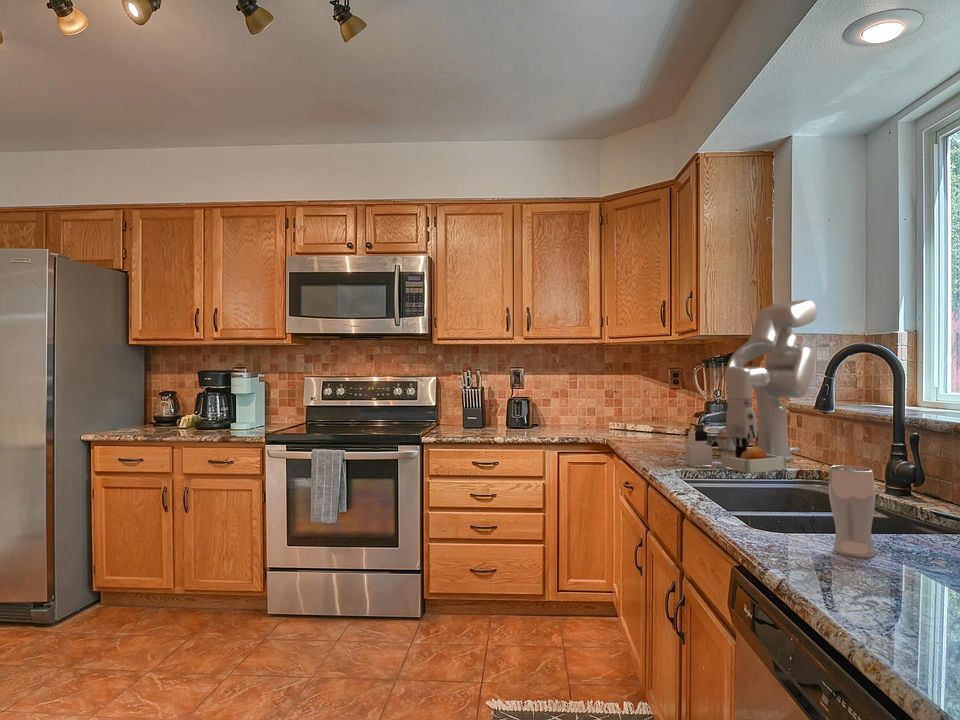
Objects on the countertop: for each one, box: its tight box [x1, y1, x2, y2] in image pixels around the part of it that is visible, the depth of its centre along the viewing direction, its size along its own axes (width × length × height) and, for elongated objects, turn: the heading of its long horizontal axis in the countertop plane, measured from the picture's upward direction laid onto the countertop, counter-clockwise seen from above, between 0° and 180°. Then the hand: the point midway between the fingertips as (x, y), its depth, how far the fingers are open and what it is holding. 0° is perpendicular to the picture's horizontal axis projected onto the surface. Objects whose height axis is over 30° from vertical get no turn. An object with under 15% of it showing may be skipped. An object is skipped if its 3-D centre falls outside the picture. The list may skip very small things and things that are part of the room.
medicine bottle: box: [684, 429, 713, 467], centre depth 192 cm, size 7×7×12 cm
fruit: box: [740, 447, 767, 460], centre depth 183 cm, size 8×8×8 cm
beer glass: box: [828, 465, 876, 559], centre depth 100 cm, size 7×7×15 cm
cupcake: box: [714, 426, 736, 452], centre depth 225 cm, size 9×9×10 cm
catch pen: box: [720, 454, 788, 474], centre depth 184 cm, size 15×12×4 cm
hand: (741, 458), depth 189 cm, fingers closed
